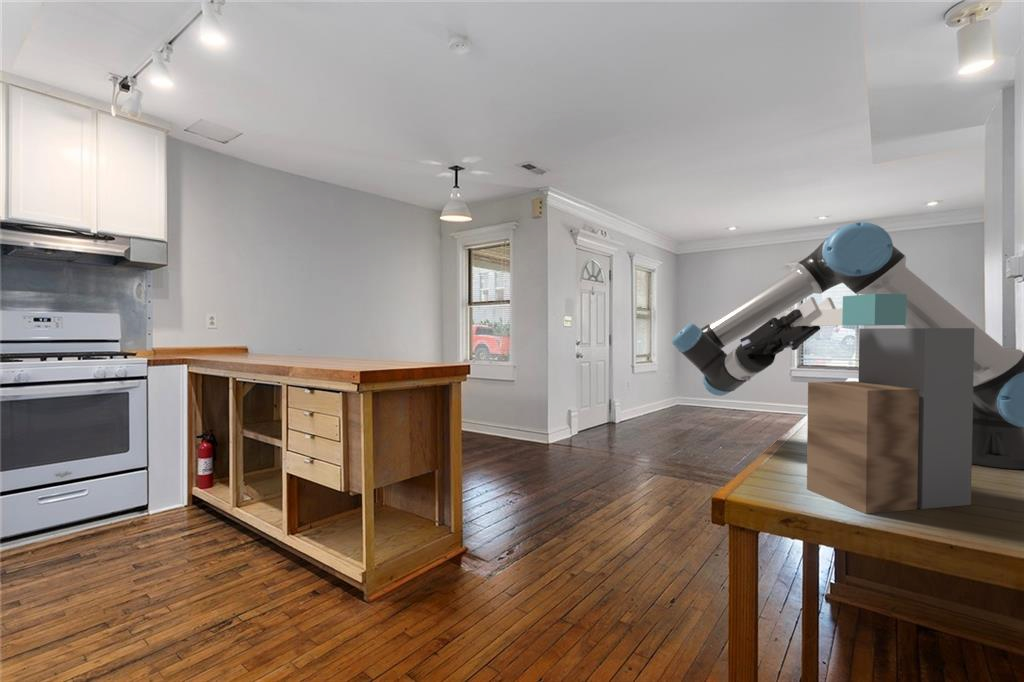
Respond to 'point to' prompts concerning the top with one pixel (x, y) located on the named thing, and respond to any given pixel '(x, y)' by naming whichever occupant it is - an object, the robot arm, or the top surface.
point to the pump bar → (862, 311)
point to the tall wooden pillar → (863, 445)
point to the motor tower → (930, 401)
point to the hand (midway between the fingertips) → (823, 303)
